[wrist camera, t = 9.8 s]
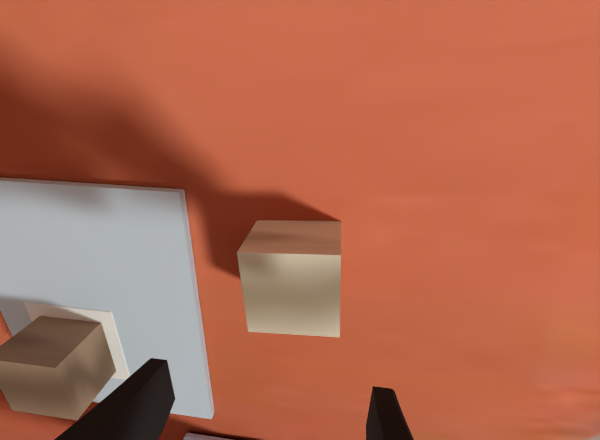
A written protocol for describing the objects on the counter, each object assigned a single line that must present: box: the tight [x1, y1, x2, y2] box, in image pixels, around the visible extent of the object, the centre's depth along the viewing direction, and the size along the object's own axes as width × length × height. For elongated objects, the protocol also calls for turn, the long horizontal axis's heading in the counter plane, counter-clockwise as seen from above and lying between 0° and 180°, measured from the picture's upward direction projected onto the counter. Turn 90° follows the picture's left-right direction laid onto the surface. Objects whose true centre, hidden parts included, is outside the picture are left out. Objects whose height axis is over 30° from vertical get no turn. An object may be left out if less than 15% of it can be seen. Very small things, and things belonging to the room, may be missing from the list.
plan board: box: [0, 177, 214, 419], centre depth 23 cm, size 20×16×1 cm
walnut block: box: [0, 316, 116, 420], centre depth 22 cm, size 5×5×4 cm
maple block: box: [237, 220, 341, 337], centre depth 17 cm, size 5×5×4 cm
